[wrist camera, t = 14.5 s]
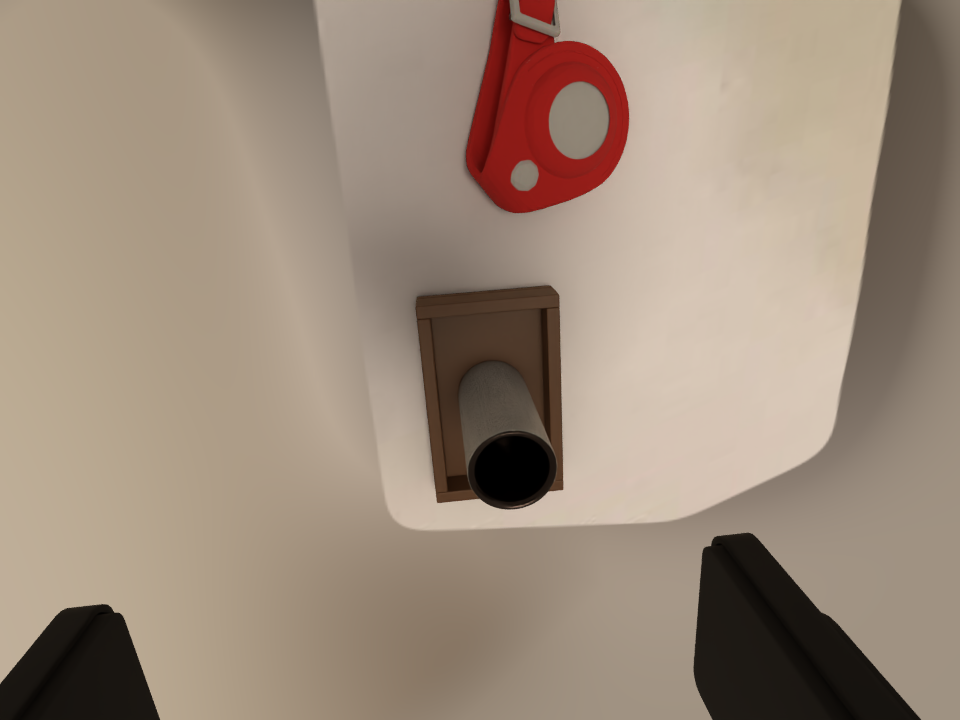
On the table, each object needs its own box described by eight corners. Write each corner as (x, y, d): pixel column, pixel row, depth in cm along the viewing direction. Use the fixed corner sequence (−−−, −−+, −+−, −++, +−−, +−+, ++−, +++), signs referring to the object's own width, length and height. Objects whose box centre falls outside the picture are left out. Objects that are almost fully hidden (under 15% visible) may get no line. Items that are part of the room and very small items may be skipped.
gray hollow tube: (447, 409, 38) (453, 495, 29) (473, 349, 37) (488, 418, 27) (509, 431, 39) (535, 521, 29) (536, 373, 38) (572, 447, 28)
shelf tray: (416, 296, 36) (415, 306, 34) (550, 285, 37) (559, 294, 34) (436, 482, 41) (437, 503, 38) (555, 470, 41) (563, 490, 39)
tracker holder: (670, 123, 33) (556, 252, 32) (622, 127, 37) (519, 242, 36) (549, -85, 27) (406, 71, 26) (507, -54, 30) (381, 82, 30)
